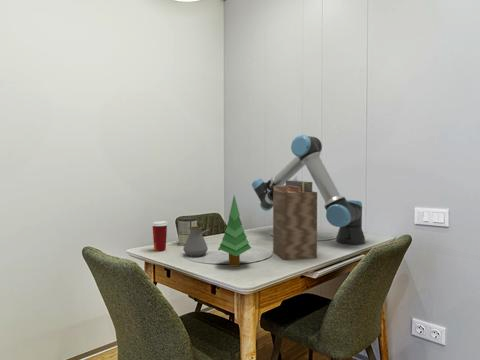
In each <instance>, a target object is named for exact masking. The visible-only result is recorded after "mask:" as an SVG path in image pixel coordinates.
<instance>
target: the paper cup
mask: <svg viewBox="0 0 480 360" xmlns="http://www.w3.org/2000/svg"><path fill="white" fill-rule="evenodd" d="M151 226H152V234H153V235H152V238H153V250H154V251H155V252H164V251H166V249H167V234H168V233H167V232H168V231H167V230H168V221H164V220H162V221H161V220H160V221H153V222H152V224H151Z"/></svg>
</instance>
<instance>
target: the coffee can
mask: <svg viewBox="0 0 480 360" xmlns="http://www.w3.org/2000/svg"><path fill="white" fill-rule="evenodd" d="M177 220H178V221H177V222H178V223H177V224H178V227H177V228H178V229H177V230H178V245H179V246H183V247H184V246H185V244H186V241H187V239H188V236H189V234H190V229H189V227H198V217H196V216H181V217H178V218H177Z"/></svg>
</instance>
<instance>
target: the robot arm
mask: <svg viewBox="0 0 480 360" xmlns="http://www.w3.org/2000/svg"><path fill="white" fill-rule="evenodd" d="M322 149H323V144H322V142H321V140H320V139H319V138H317V137H316V136H310V135H305V134H301V135H298V136H296V137H295V138H294V139H292V142H291V146H290V150H291V152H292V154H293V155H294V156H295V157H293V159H292V160H291V161H289V162H288V164H286V165H285V166H284V168H282V169H281V170H280V171H279V172H278V173H277V174H276V175H272V176H271V178H270V179H269V180H268V181H265V182H264V180H263V179H262V178H257V179H255V180H253V181H252V183H251V186H252V189H253V191H254V192H255V194H256V195H257V197H258V200H259V201H260V205H259V207H260V208H261V210H263V211H265V212H268V211H270V210H272V209H273V191H274V186H284V187H286V181H290V180H291V178H293V177H294V176H295V177H294V178H293V181H300V180H299V176H298V175H296V174H297V173H298V172H299V171H301V169H303V168H304V167H306V168H307V170H308V172H309V173H310V176H311V177H312V180H313V181H314V183H315V186H316V188H317V189H318V192H319V193H320V195H321V198H322V199H323V201H324V203H325V204H324V206H323V207H324V209H325V211H326V212H325V218H326V220H327V222H328V223H329V224H330V225H332V226H333V227H336V228H339V229H338V231H337V233H336V239H335V240H336V242H337V243H341V244H345V245H362V244H365V243H366V237H365V235H364V231H363V227H362V226H363V224H362V223H363V222H362V221H363V203H362V201H361V200H353V199H352V200H351V199H346V197H345V196H343V195H341V194H340V192H339V191H338V188H337V187H336V185H335V183H334V181H333V179H332V177H331V176H330V174H329V172H328V171H327V168H326V166H325V165H324V163H323V160H322V159H321V158H320V156H321V152H322Z"/></svg>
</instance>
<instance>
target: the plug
mask: <svg viewBox="0 0 480 360" xmlns="http://www.w3.org/2000/svg"><path fill="white" fill-rule="evenodd" d="M293 180H294V179H293ZM293 180H288V181H286V183H285V185H290V186H298V187H301V192H312V191H313V182H312V181H305V180H304V181H303V180H299V181H293Z"/></svg>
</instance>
